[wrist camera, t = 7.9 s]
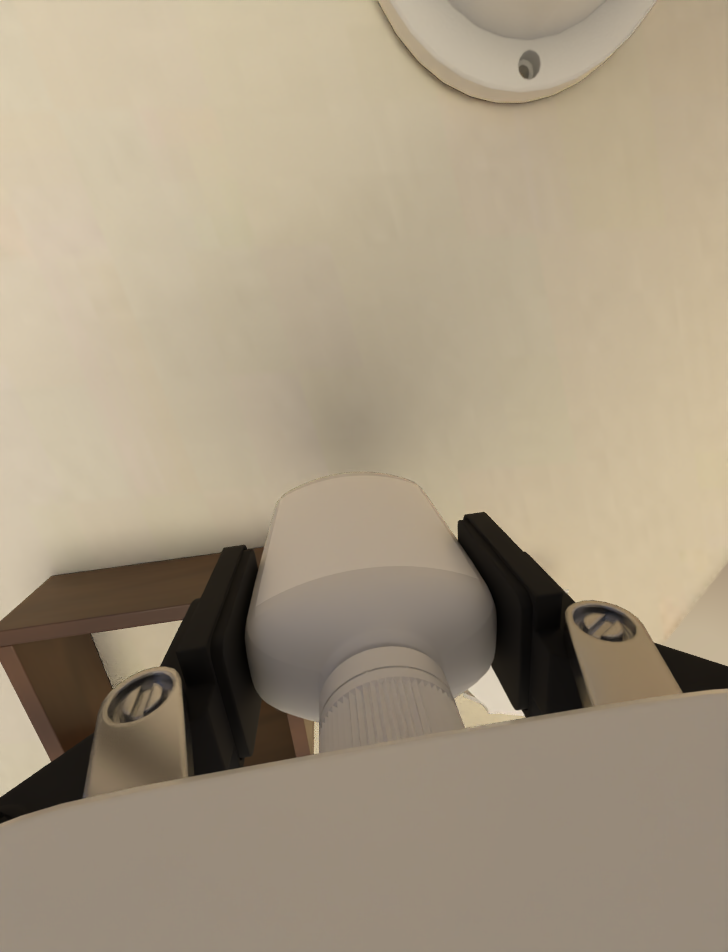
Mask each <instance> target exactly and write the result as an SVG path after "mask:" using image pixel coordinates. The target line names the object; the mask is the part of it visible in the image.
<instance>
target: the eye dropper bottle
mask: <svg viewBox="0 0 728 952" xmlns="http://www.w3.org/2000/svg"><path fill="white" fill-rule="evenodd" d="M496 634H497V615H496V607H495V603H494V601H493V598H492V595H491V593H490V591H489V588H488V586H487V585H486V583H485V581H484V580H483V578H482V577H481V575H480V573H479V572H478V570H477V569H476V567H475V566H474V564H473V562H472V561H471V559H470V558H469V556H468V555H467V553H466V552H465V551H464V549H463V548H462V546H461V545H460V543H459V542H458V540H457V539H456V537H455V536H454V534H453V533H452V531H451V530H450V528H449V527H448V526H447V524H446V523H445V521H444V520H443V518H442V517H441V515H440V514H439V513H438V511H437V510H436V508H435V507H434V505H433V504H432V502H431V501H430V500H429V498H428V497H427V495H426V494H425V492H424V491H423V489H422V488H421V487H420V486H418V485H417V484H416V483H415V482H413V481H410V480H408V479H405V478H401V477H398V476H393V475H389V474H383V473H375V472H347V473H339V474H334V475H329V476H325V477H322V478H318V479H315V480H312V481H310V482H307V483H305V484H302V485H300V486H298V487H296V488H294V489H292V490H290V491H289V492H287V493H285V494H284V495H283V496H282V497H281V498H280V499H279V500H278V501H277V503H276V505H275V509H274V513H273V516H272V520H271V524H270V527H269V531H268V535H267V539H266V542H265V546H264V550H263V554H262V558H261V562H260V565H259V569H258V573H257V577H256V581H255V585H254V589H253V593H252V598H251V602H250V607H249V611H248V616H247V621H246V626H245V637H244V638H245V646H246V654H247V659H248V665H249V669H250V674H251V678H252V681H253V684H254V688H255V689H256V691H257V693H258V694H259V695H260V697H261V698H262V699H263V700H264V701H265V702H266V703H268V704H269V705H271V706H273V707H275V708H276V709H278V710H280V711H283V712H286V713H288V714H291V715H294V716H297V717H300V718H304V719H307V720H310V721H315V722H319V753H325V752H330V751H336V750H342V749H348V748H353V747H359V746H365V745H370V744H376V743H382V742H388V741H393V740H399V739H405V738H410V737H416V736H422V735H428V734H434V733H439V732H445V731H451V730H457V729H463V728H465V727H464V724H463V722H462V719H461V716H460V714H459V711H458V708H457V706H456V703H455V700H454V698H456V697H457V696H459V695H460V694H462V693H463V692H465V691H466V690H467V689H469V688H470V687H472V686H473V685H474V684H476V683H477V682H478V681H479V680H480V679H481V678H482V677H483V676H484V675H485V674H486V673H487V672H488V670H489V668H490V666H491V664H492V662H493V660H494V655H495V649H496Z"/></svg>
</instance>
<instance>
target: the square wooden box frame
mask: <svg viewBox="0 0 728 952" xmlns="http://www.w3.org/2000/svg"><path fill="white" fill-rule="evenodd" d="M247 550H249V549H247ZM253 550H254V552H255V556H256V561H257V566H258V569H259V565H260V562H261V558H262V554H263V550H264V547H261V548H254V549H253ZM220 555H221V553H217V554H210V555H202V556H195V557H188V558H181V559H173V560H166V561H159V562H151V563H144V564H137V565H129V566H122V567H115V568H108V569H100V570H93V571H86V572H78V573H71V574H64V575H56V576H51V577H50V578H49V579H48V580H46V581H45V582H44V583H43V584H42V585H41V586H40V587H39V588H37V589H36V590H35V591H34V592H33V593H32V594H31V595H29V596H28V597H27V598H26V599H25V600H24V601H23V602H22V603H20V604H19V605H18V606H17V607H16V608H15V609H14V610H12V611H11V612H10V613H9V614H8V615H7V616H6V617H5V618H3V619H2V620H1V621H0V662H1V664H2V666H3V668H4V670H5V672H6V674H7V676H8V677H9V679H10V681H11V683H12V685H13V687H14V689H15V691H16V693H17V695H18V697H19V699H20V701H21V703H22V705H23V707H24V709H25V711H26V713H27V715H28V717H29V719H30V721H31V723H32V725H33V727H34V729H35V731H36V733H37V734H38V736H39V738H40V740H41V742H42V744H43V746H44V748H45V750H46V752H47V754H48V756H49V758H50V760H51V762H52V761H53V760H55V759H56V758H58V757H59V756H61V755H62V754H63V753H65V752H66V751H68V750H69V749H71V748H72V747H74V746H75V745H76V744H78V743H79V742H81V741H82V740H84V739H85V738H86V737H88V736H89V735H91V734H92V733H94V732H95V726H96V720H97V715H98V711H99V709H100V706H101V703H102V702H103V701H104V699H105V698H106V696H107V695H108V694H109V693H110V692H111V691H112V687H111V685H110V682H109V680H108V677H107V675H106V672H105V670H104V667H103V665H102V662H101V660H100V657H99V655H98V653H97V650H96V648H95V645H94V643H93V640H92V638H91V635H90V633H96V632H103V631H110V630H117V629H123V628H130V627H137V626H144V625H151V624H158V623H164V622H171V621H178V620H183V619H184V617H185V614H186V612H187V610H188V608H189V606H190V604H191V603H192V601H193V600H194V599H197V598H201V596H202V594H203V591H204V589H205V587H206V585H207V583H208V581H209V578H210V576H211V574H212V572H213V570H214V568H215V565H216V563H217V561H218V559H219V557H220ZM308 755H314V721H310V720H307V719H304V718H300V717H297V716H294V715H291V714H288V713H286V712H283V711H280V710H278V709H276V708H275V707H273V706H271V705H269V704H268V703H266V702H265V701H264V700H263V699H262V702H261V709H260V715H259V721H258V728H257V734H256V740H255V746H254V752H253V755H252V756H251V757H245V761H244V766H243V767H247V766H253V765H258V764H264V763H269V762H275V761H280V760H286V759H292V758H297V757H303V756H308Z"/></svg>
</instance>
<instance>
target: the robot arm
mask: <svg viewBox="0 0 728 952" xmlns="http://www.w3.org/2000/svg"><path fill="white" fill-rule="evenodd" d="M656 1H657V0H378V2H379V4H380V6H381V7H382V9H383V11H384V13H385V15H386V16H387V18H388V20H389V22H390V24H391V25H392V27H393V29H394V31H395V33H396V34H397V36H398V37H399V38H400V39H401V41H402V42H403V43H404V44H405V46H406V47H407V48H408V49H409V50H410V52H411V53H412V54H413V55H414V57H415V58H416V59H417V60H418V62H420V63H421V64H422V65H423V66H424V67H425V68H427V69H428V70H429V71H430V72H431V73H433V74H434V75H435V76H436V77H437V78H439V79H440V80H441V81H442V82H443V83H445V84H447V85H449V86H451V87H453V88H455V89H457V90H459V91H461V92H463V93H465V94H467V95H469V96H471V97H475V98H479V99H484V100H488V101H492V102H496V103H526V102H530V101H534V100H537V99H541V98H545V97H549V96H553V95H555V94H557V93H559V92H561V91H563V90H565V89H567V88H569V87H571V86H573V85H575V84H577V83H578V82H580V81H581V80H583V79H584V78H585V77H586V76H588V75H589V74H590V73H591V72H593V71H594V70H595V69H596V68H598V67H599V66H600V65H602V64H603V63H604V62H605V61H606V60H607V59H608V58H609V57H610V56H611V55H612V54H613V53H614V52H615V51H616V50H617V49H618V48H619V47H620V46H621V45H622V44H623V43H624V42H625V41H626V40H627V39H628V38H629V37H630V36H631V35H632V34H633V32H634V31H635V30H636V28H637V27H638V26H639V24H640V23H641V22H642V20H643V19H644V18H645V16H646V15H647V14H648V12H649V11H650V10H651V8H652V7H653V6H654V4H655V2H656ZM520 73H521V74H522V75H523V77H522V75H521V74H520ZM458 542H459V543H460V545H461V546H462V548H463V549H464V551H465V552H466V553H467V555H468V556H469V558H470V559H471V561H472V562H473V564H474V566H475V567H476V569H477V570H478V572H479V573H480V575H481V577H482V578H483V580H484V581H485V583H486V585H487V586H488V588H489V591H490V593H491V595H492V598H493V601H494V603H495V607H496V615H497V634H496V649H495V655H494V660H493V662H492V664H491V667H492V669H493V670H494V672H495V674H496V676H497V678H498V680H499V682H500V684H501V686H502V688H503V689H504V691H505V693H506V695H507V697H508V699H509V701H510V703H511V705H512V706H513V708H514V709H515V710H522V712H523V713H524V715H525V717H526V718H522V719H516V720H510V721H504V722H498V723H492V724H486V725H480V726H474V727H468V728H463V729H457V730H451V731H445V732H439V733H434V734H428V735H422V736H416V737H410V738H405V739H399V740H393V741H388V742H382V743H376V744H370V745H365V746H359V747H353V748H348V749H342V750H336V751H330V752H325V753H319V754H314V755H308V756H303V757H297V758H292V759H286V760H280V761H275V762H269V763H264V764H258V765H253V766H247V767H243V766H244V761H245V757H251V756H252V755H253V752H254V746H255V740H256V734H257V728H258V721H259V715H260V709H261V702H262V698H261V697H260V695H259V694H258V693H257V691H256V689H255V688H254V684H253V681H252V678H251V674H250V669H249V665H248V659H247V654H246V646H245V638H244V637H245V626H246V621H247V616H248V611H249V607H250V602H251V598H252V593H253V589H254V585H255V581H256V577H257V573H258V566H257V561H256V556H255V552H254V550H253V549H249V550H247V547H246V546H245V545H240V546H233V547H226V548H224V549H223V550H222V553H221V555H220V557H219V559H218V561H217V563H216V565H215V568H214V570H213V572H212V574H211V576H210V578H209V581H208V583H207V585H206V587H205V589H204V591H203V594H202V596H201V598H197V599H194V600H193V601H192V603H191V604H190V606H189V608H188V610H187V612H186V614H185V617H184V619H183V621H182V623H181V625H180V627H179V629H178V631H177V633H176V635H175V637H174V639H173V641H172V643H171V645H170V647H169V649H168V651H167V653H166V655H165V657H164V659H163V662H162V664H161V666H160V667H153V668H150V669H146V670H143V671H141V672H138V673H136V674H134V675H132V676H130V677H129V678H127V679H126V680H124V681H123V682H121V683H120V684H118V685H117V686H116V687H115V688H114V689H113V690H112V691H111V692H110V693H109V694H108V695H107V696H106V698H105V699H104V701H103V702H102V703H101V706H100V709H99V711H98V715H97V720H96V726H95V732H94V733H92V734H91V735H89V736H88V737H86V738H85V739H84V740H82V741H81V742H79V743H78V744H76V745H75V746H74V747H72V748H71V749H69V750H68V751H66V752H65V753H63V754H62V755H61V756H59V757H58V758H56V759H55V760H53V761H52V762H51V763H49V764H48V765H46V766H45V767H43V768H42V769H40V770H39V771H38V772H36V773H35V774H33V775H32V776H30V777H29V778H28V779H26V780H25V781H23V782H22V783H20V784H19V785H18V786H16V787H15V788H13V789H12V790H10V791H9V792H7V793H6V794H5V795H3V796H2V797H0V952H728V666H725V665H722V664H719V663H716V662H712V661H709V660H706V659H703V658H700V657H697V656H694V655H691V654H688V653H684V652H681V651H678V650H675V649H672V648H669V647H666V646H663V645H660V644H656V643H654V642H653V641H652V639H651V637H650V635H649V634H648V632H647V630H646V628H645V627H644V625H643V624H642V623H641V621H640V620H639V619H638V618H637V617H636V616H634V615H633V614H632V613H630V612H629V611H627V610H625V609H623V608H621V607H619V606H617V605H613V604H610V603H607V602H602V601H595V600H589V601H580V602H576V603H575V602H574V600H573V599H572V598H571V597H570V596H569V595H568V594H567V593H566V592H565V591H564V590H563V589H562V588H561V587H560V586H559V585H558V584H557V583H556V582H555V581H554V580H553V579H552V578H551V577H550V576H549V575H548V574H547V573H546V572H545V571H544V570H543V569H542V568H541V567H540V566H539V565H538V564H537V563H536V562H535V561H534V560H533V559H532V558H531V556H530V555H529V554H527V553H526V552H523V551H522V550H521V549H520V548H519V547H518V546H517V545H516V544H515V543H514V542H513V541H512V540H511V538H510V537H509V536H508V535H507V534H506V533H505V532H504V531H503V530H502V529H501V528H500V527H499V526H498V525H497V524H496V523H495V522H494V521H493V520H492V519H491V518H490V517H489V516H488V515H487V514H486V513H485V512H481V513H473V514H466V515H464V518H463V520H459V521H458Z"/></svg>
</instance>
